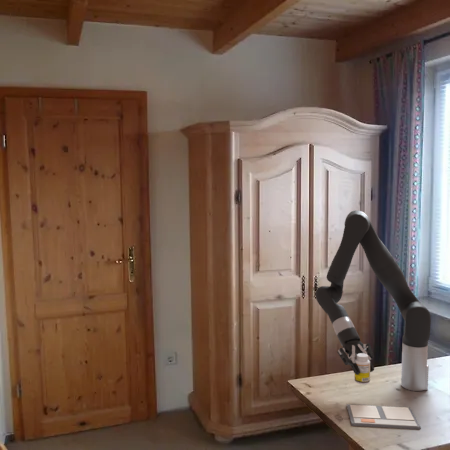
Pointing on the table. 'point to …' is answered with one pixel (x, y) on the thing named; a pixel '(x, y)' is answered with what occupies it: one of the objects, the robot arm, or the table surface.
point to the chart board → (382, 416)
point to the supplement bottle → (363, 369)
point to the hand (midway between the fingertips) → (365, 372)
